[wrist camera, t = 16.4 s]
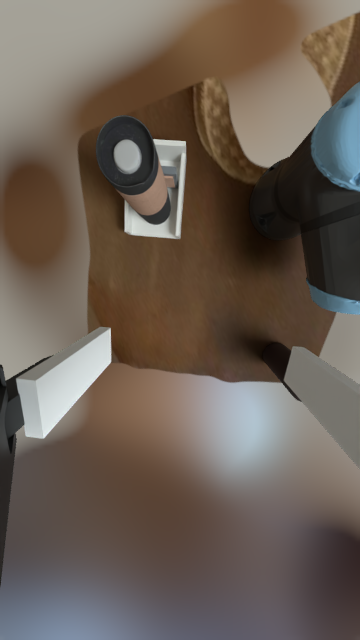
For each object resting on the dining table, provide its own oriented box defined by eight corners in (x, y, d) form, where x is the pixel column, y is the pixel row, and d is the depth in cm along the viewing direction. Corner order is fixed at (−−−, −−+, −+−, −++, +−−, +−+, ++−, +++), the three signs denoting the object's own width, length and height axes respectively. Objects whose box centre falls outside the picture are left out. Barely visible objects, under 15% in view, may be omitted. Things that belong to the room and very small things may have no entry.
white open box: (186, 159, 39) (185, 141, 34) (180, 239, 43) (178, 234, 38) (130, 155, 40) (121, 137, 34) (129, 234, 44) (121, 229, 38)
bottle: (293, 350, 49) (359, 402, 30) (276, 369, 51) (329, 429, 31) (272, 338, 48) (327, 382, 29) (256, 357, 50) (298, 411, 31)
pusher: (178, 182, 40) (176, 166, 34) (177, 190, 40) (175, 176, 34) (135, 178, 40) (125, 163, 34) (134, 186, 40) (125, 172, 34)
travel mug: (136, 190, 41) (88, 118, 21) (170, 186, 40) (152, 108, 21) (141, 228, 43) (100, 192, 23) (173, 224, 42) (159, 185, 23)
